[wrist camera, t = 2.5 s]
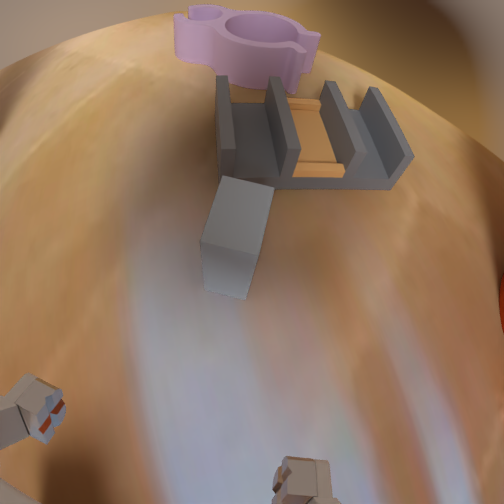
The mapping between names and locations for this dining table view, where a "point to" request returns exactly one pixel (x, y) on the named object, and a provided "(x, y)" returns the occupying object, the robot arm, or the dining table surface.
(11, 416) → the robot arm
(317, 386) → the dining table surface
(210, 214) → the tall grey pillar block
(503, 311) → the flowerpot
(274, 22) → the clip
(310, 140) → the rack
